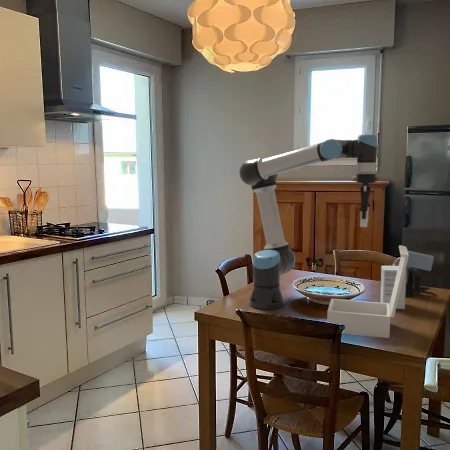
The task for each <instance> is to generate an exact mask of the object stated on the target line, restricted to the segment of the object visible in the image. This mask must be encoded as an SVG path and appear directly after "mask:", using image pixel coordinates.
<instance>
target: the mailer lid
mask: <svg viewBox="0 0 450 450" xmlns="http://www.w3.org/2000/svg"><path fill="white" fill-rule="evenodd" d="M398 250H399V254H400V257H399V258H400V259H399V261H400V262H399V267H398V271H397V275H396V279H395V283H394V288H393V292H392V296H391V300H390V318H395V315H396V311H397V310H396V307H397V302H398V298H399V294H400V290H401V286H402V282H403V278H404V273H405V269H406V266H409V267H414V268H416V269H418V270H424V271H428V272H431V271H432V267H433V264H434V259H435V257H434V255H432V254H431V255H430V254H425V253H421V252H417V251H416V252H415V251H412V250H411V251H410V250H408V248H407V246H404V245H400V244H399V246H398Z"/></svg>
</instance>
